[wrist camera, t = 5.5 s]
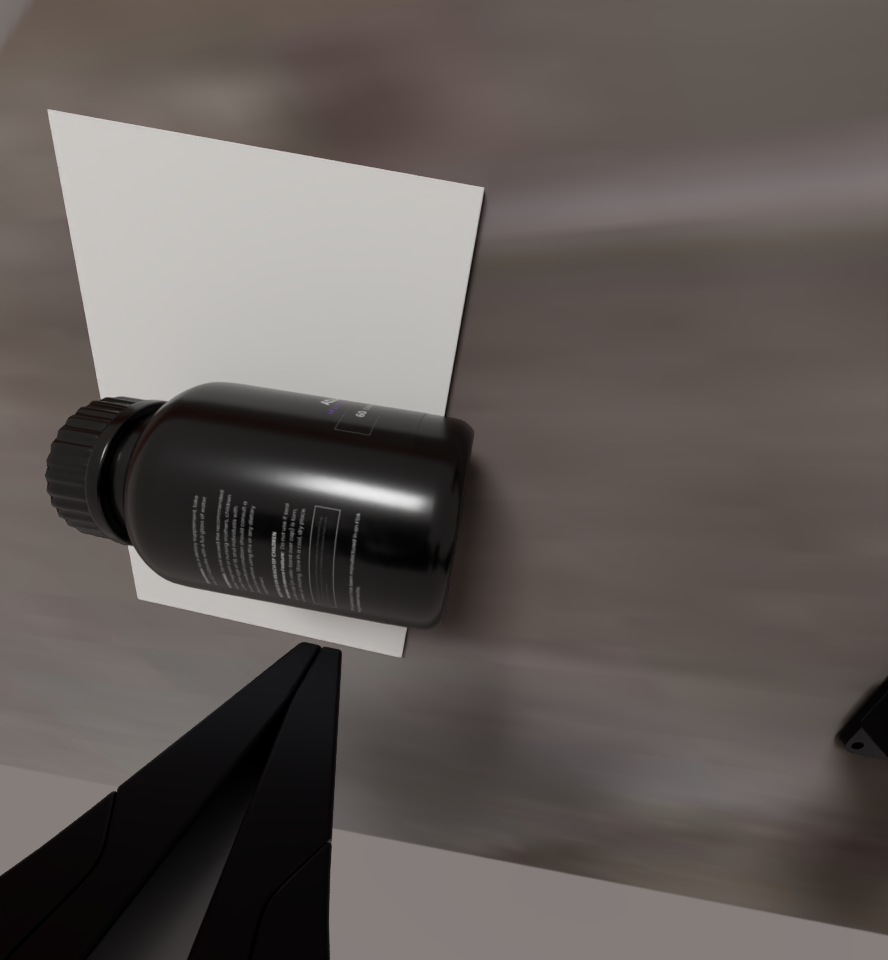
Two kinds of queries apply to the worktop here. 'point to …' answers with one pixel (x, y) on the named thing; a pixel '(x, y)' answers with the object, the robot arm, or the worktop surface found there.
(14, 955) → the robot arm
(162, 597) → the mat
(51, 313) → the worktop surface
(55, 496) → the supplement bottle
